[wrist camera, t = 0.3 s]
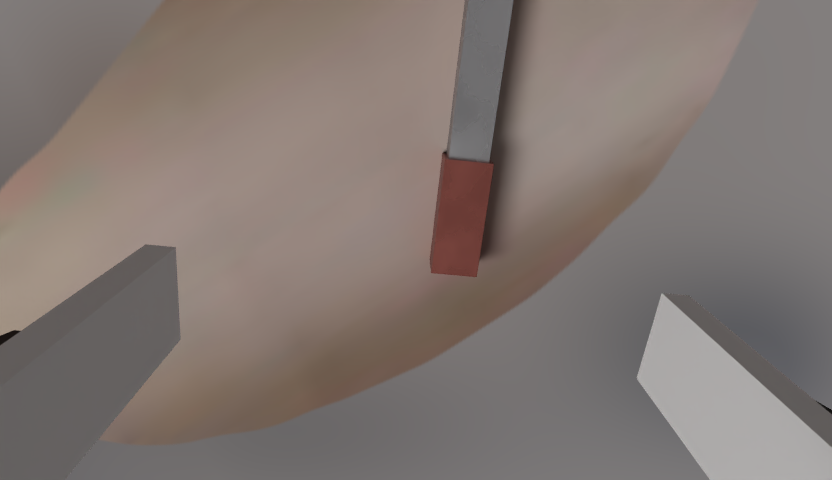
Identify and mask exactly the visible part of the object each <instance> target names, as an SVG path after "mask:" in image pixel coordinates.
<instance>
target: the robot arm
mask: <svg viewBox="0 0 832 480" xmlns="http://www.w3.org/2000/svg"><path fill="white" fill-rule="evenodd" d="M179 340H180V322H179V303H178V284H177V265H176V247H167V246H156V245H144V246H143V247H141V248H140V249H139V250H137V251H136V252H134V253H133V254H131V255H130V256H129V257H127V258H126V259H124V260H123V261H121V262H120V263H118V264H117V265H116V266H114V267H113V268H111V269H110V270H108V271H107V272H105V273H104V274H103V275H101V276H100V277H98V278H97V279H95V280H94V281H92V282H91V283H90V284H88V285H87V286H85V287H84V288H82V289H81V290H79V291H78V292H77V293H75V294H74V295H72V296H71V297H69V298H68V299H66V300H65V301H64V302H62V303H61V304H59V305H58V306H56V307H55V308H53V309H52V310H51V311H49V312H48V313H46V314H45V315H43V316H42V317H41V318H39V319H38V320H36V321H35V322H33V323H32V324H30V325H29V326H28V327H26V328H25V329H23V330H22V331H16V330H13V331H11V332H9V333H6V334H4V335H1V336H0V480H65V479H66V478H67V476H68V475H69V474H70V473H71V472H72V470H73V469H74V468H75V467H76V465H77V464H78V463H79V462H80V461H81V460H82V458H83V457H84V456H85V455H86V453H87V452H88V451H89V450H90V448H91V447H92V446H93V445H94V444H95V442H96V441H97V440H98V439H99V438H100V436H101V435H102V434H103V433H104V432H105V430H106V429H107V428H108V427H109V426H110V424H111V423H112V422H113V421H114V419H115V418H116V417H117V416H118V415H119V413H120V412H121V411H122V410H123V408H124V407H125V406H126V405H127V404H128V402H129V401H130V400H131V399H132V398H133V396H134V395H135V394H136V393H137V391H138V390H139V389H140V388H141V387H142V385H143V384H144V383H145V382H146V381H147V379H148V378H149V377H150V376H151V374H152V373H153V372H154V371H155V370H156V368H157V367H158V366H159V365H160V364H161V362H162V361H163V360H164V359H165V357H166V356H167V355H168V354H169V353H170V351H171V350H172V349H173V348H174V347H175V345H176V344H177V343H178V342H179ZM637 379H638V381H639V382H640V384H641V385H642V386H643V388H644V389H645V390H646V392H647V393H648V394H649V396H650V397H651V398H652V400H653V401H654V403H655V404H656V406H657V407H658V408H659V410H660V411H661V413H662V414H663V415H664V417H665V418H666V419H667V421H668V422H669V423H670V425H671V426H672V428H673V429H674V430H675V432H676V433H677V435H678V436H679V437H680V439H681V440H682V442H683V443H684V444H685V446H686V447H687V449H688V450H689V451H690V453H691V454H692V455H693V457H694V458H695V460H696V461H697V462H698V464H699V465H700V466H701V468H702V469H703V471H704V472H705V473H706V475H707V476H708V478H709V479H710V480H832V410H831V409H829V408H827V407H826V406H824V405H822V404H820V403H819V402H817V401H815V400H814V399H813V398H811V397H810V396H809V395H808V394H807V393H805V392H804V391H803V390H802V389H800V388H799V387H798V386H797V385H796V384H795V383H793V382H792V381H791V380H790V379H789V378H787V377H786V376H785V375H784V374H782V373H781V372H780V371H779V370H778V369H777V368H775V367H774V366H773V365H772V364H770V363H769V362H768V361H767V360H766V359H765V358H763V357H762V356H761V355H760V354H758V353H757V352H756V351H755V350H754V349H752V348H751V347H750V346H749V345H748V344H746V343H745V342H744V341H743V340H741V339H740V338H739V337H738V336H737V335H736V334H734V333H733V332H732V331H730V329H728V328H727V327H726V326H725V325H724V324H722V323H721V322H720V321H719V320H717V319H716V318H715V317H714V316H713V315H712V314H710V313H709V312H708V311H707V310H706V309H704V308H703V307H702V306H701V305H699V304H698V303H697V302H696V301H695V300H693V299H692V298H691V297H690V296H687V295H676V294H665V293H662V295H661V298H660V301H659V305H658V308H657V312H656V315H655V318H654V322H653V325H652V328H651V332H650V335H649V339H648V342H647V345H646V349H645V353H644V356H643V359H642V363H641V366H640V369H639V373H638V376H637Z"/></svg>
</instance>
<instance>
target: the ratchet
mask: <svg viewBox="0 0 832 480" xmlns="http://www.w3.org/2000/svg"><path fill="white" fill-rule="evenodd" d="M512 7H513V0H465V5H464V13H463V21H462V30H461V38H460V46H459V54H458V62H457V70H456V79H455V87H454V95H453V103H452V111H451V120H450V128H449V136H448V144H447V152H446V153H442V162H441V170H440V179H439V187H438V195H437V204H436V212H435V220H434V229H433V237H432V245H431V254H430V267H431V273H437V274H448V275H460V276H471V277H477V271H478V265H479V258H480V252H481V245H482V239H483V232H484V226H485V219H486V213H487V206H488V200H489V193H490V187H491V180H492V174H493V167H494V164H493V162H492V161H491V160H490V153H491V147H492V140H493V133H494V127H495V120H496V113H497V107H498V100H499V93H500V87H501V80H502V73H503V67H504V60H505V54H506V47H507V40H508V34H509V27H510V20H511V14H512Z"/></svg>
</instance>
